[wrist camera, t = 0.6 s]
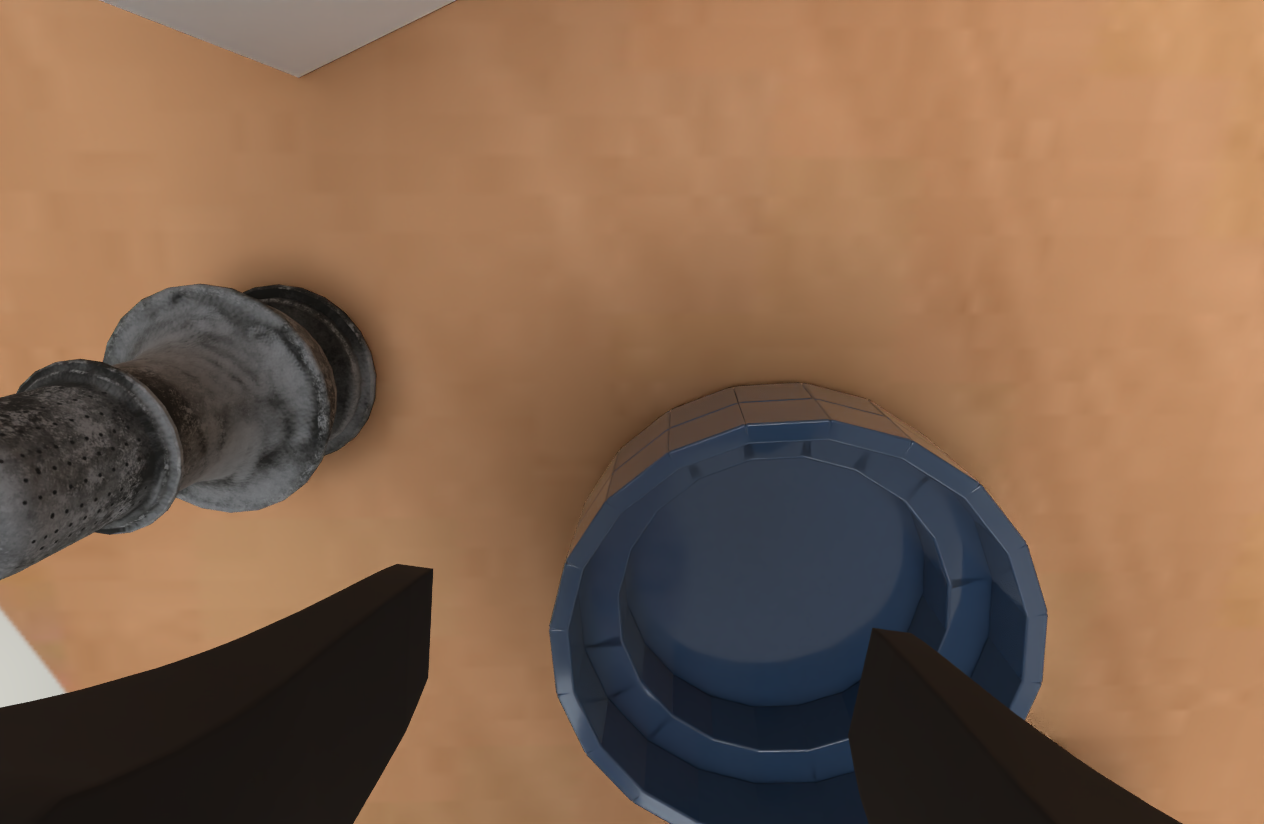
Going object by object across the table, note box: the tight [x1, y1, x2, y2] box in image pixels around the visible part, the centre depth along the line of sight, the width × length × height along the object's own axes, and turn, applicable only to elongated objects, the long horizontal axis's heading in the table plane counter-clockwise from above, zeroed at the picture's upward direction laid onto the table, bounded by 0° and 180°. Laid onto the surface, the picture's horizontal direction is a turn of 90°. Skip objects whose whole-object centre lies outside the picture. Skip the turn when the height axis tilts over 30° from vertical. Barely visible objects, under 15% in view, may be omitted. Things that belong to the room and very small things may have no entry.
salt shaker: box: [0, 284, 376, 580], centre depth 16 cm, size 6×6×12 cm
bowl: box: [549, 383, 1048, 824], centre depth 20 cm, size 12×12×4 cm
